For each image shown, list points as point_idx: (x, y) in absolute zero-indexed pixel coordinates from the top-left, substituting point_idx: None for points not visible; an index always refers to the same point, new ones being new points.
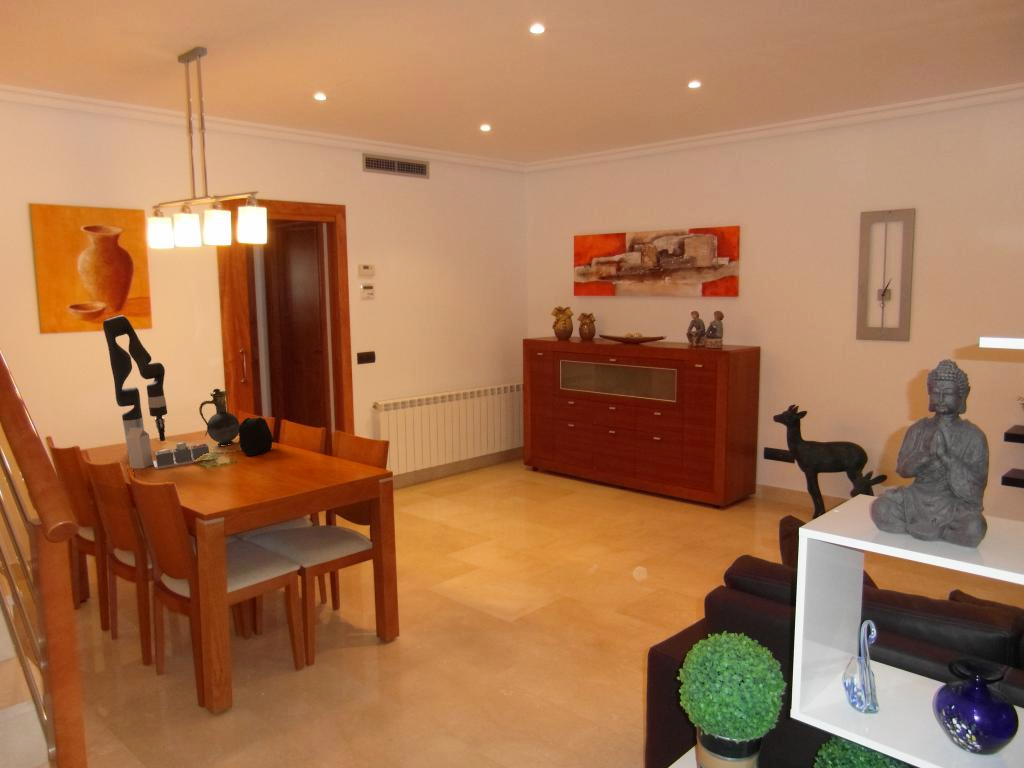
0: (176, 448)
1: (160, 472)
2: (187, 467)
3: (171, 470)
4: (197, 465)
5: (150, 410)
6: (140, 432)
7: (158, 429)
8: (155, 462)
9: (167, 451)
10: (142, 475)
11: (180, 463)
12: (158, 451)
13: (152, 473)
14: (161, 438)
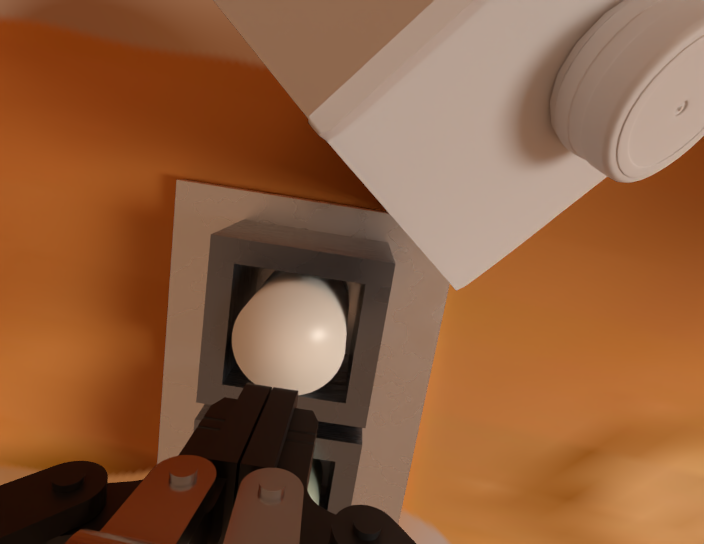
0: (349, 475)
1: (37, 188)
2: (44, 394)
3: (39, 276)
4: (51, 463)
5: None
6: (306, 29)
7: (94, 539)
8: (375, 231)
9: (247, 368)
10: (44, 30)
11: (165, 384)
12: (378, 299)
13: (53, 123)
14: (203, 421)
